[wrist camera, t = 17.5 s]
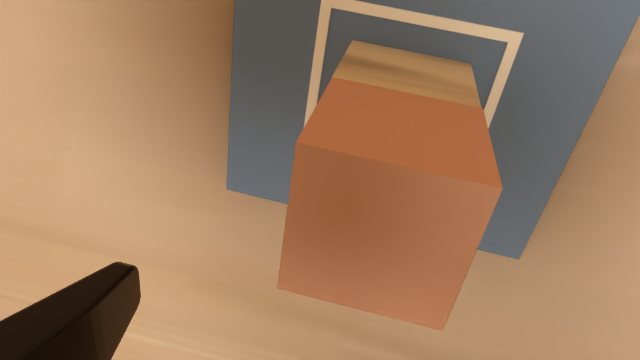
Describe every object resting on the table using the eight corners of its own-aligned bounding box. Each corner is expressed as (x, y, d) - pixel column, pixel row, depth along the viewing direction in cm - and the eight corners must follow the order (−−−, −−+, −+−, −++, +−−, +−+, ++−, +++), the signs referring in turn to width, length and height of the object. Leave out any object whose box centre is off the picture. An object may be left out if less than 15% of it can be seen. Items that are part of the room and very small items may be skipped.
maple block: (437, 166, 20) (439, 229, 16) (334, 143, 20) (311, 199, 17) (470, 63, 17) (481, 109, 14) (352, 40, 18) (331, 77, 14)
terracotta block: (440, 228, 16) (442, 330, 12) (312, 199, 16) (277, 288, 13) (482, 108, 14) (502, 188, 10) (332, 76, 14) (295, 142, 10)
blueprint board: (516, 251, 22) (519, 260, 21) (230, 183, 23) (225, 190, 23) (649, -24, 16) (658, -21, 15) (244, -96, 17) (237, -95, 16)
